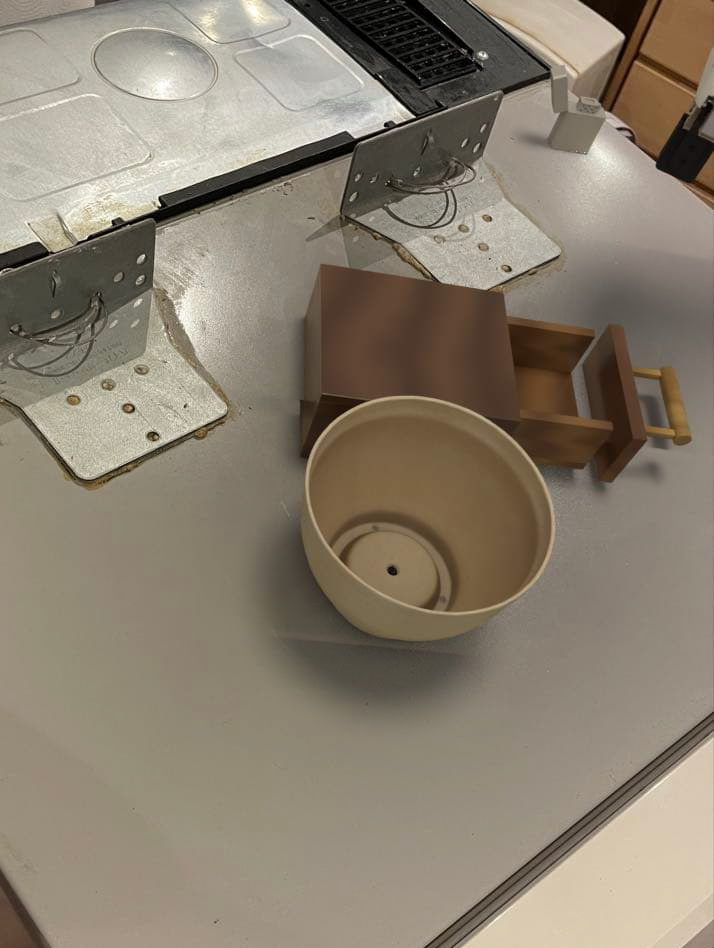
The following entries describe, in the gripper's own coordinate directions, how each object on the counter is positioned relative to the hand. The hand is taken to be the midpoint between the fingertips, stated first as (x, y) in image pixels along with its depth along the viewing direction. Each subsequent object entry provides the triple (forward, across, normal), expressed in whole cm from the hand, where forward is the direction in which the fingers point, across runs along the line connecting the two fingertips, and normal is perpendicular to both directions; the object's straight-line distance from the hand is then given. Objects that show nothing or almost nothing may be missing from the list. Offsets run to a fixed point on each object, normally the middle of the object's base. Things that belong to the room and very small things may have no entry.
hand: (674, 170), depth 77 cm
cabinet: (+15, -21, +12) cm, 28 cm away
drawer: (+14, -16, 0) cm, 21 cm away
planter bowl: (+15, -36, +6) cm, 40 cm away
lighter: (+15, +21, +9) cm, 27 cm away
